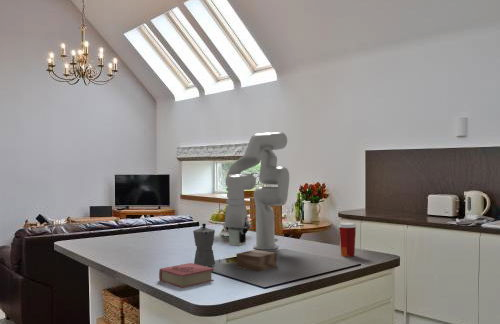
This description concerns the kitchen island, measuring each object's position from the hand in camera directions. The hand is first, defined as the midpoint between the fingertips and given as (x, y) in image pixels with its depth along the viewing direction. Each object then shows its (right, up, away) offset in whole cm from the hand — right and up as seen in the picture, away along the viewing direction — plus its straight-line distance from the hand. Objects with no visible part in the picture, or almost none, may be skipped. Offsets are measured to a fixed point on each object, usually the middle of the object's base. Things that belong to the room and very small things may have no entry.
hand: (237, 241), depth 213 cm
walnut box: (+9, -8, -17) cm, 20 cm away
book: (-18, -9, -39) cm, 44 cm away
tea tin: (0, -2, 0) cm, 2 cm away
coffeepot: (-14, -8, -11) cm, 20 cm away
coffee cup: (+52, -8, +5) cm, 53 cm away
